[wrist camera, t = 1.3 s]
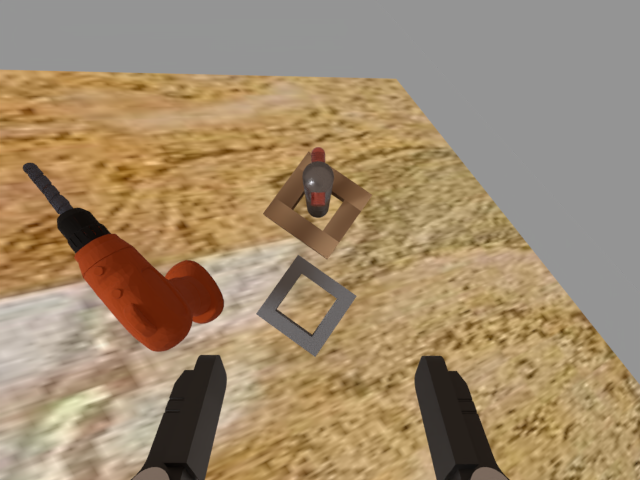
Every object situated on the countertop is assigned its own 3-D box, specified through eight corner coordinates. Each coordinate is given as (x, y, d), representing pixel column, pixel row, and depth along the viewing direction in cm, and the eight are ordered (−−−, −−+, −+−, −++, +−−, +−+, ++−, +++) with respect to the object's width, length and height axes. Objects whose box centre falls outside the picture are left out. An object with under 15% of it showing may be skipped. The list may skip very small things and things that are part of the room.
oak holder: (265, 216, 38) (262, 213, 36) (309, 156, 39) (308, 151, 37) (327, 259, 37) (327, 259, 36) (370, 198, 38) (372, 194, 37)
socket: (258, 312, 37) (255, 314, 35) (298, 255, 37) (298, 254, 36) (315, 353, 36) (315, 357, 35) (355, 295, 37) (356, 296, 35)
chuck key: (328, 225, 38) (334, 202, 26) (307, 225, 38) (302, 202, 26) (328, 184, 38) (333, 143, 26) (307, 184, 38) (302, 143, 26)
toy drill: (131, 177, 37) (21, 132, 22) (235, 302, 38) (198, 341, 23) (96, 203, 36) (-40, 175, 22) (201, 329, 37) (142, 387, 22)
